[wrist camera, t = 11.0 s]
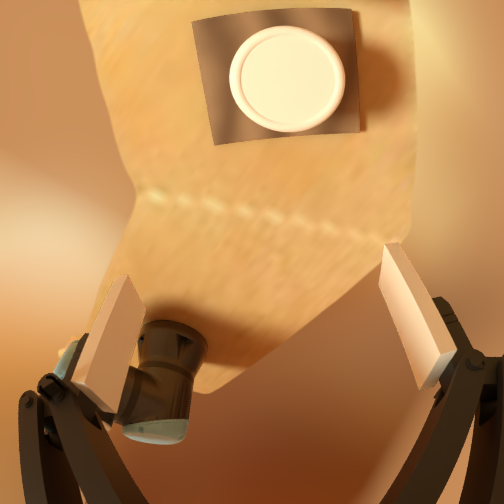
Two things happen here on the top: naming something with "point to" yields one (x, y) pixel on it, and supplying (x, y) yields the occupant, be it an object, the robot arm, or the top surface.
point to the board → (243, 27)
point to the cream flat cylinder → (287, 78)
